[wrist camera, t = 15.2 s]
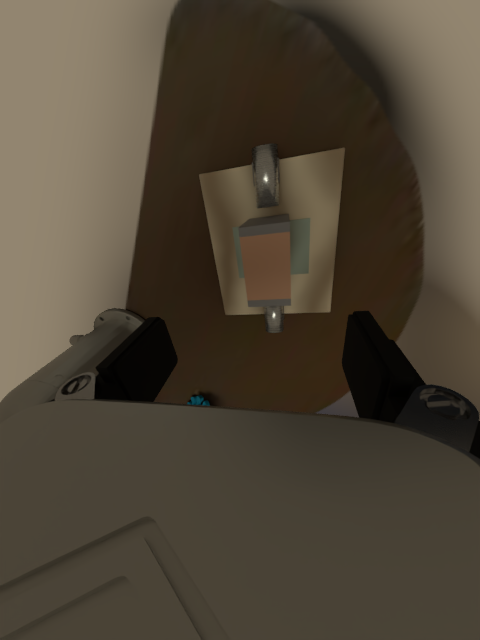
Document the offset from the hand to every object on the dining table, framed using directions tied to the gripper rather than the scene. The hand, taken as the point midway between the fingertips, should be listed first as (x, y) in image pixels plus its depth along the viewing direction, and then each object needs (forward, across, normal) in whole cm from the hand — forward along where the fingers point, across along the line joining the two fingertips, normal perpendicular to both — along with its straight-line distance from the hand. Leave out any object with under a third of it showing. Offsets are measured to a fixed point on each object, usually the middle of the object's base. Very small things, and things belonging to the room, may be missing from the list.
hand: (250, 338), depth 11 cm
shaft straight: (+18, 0, -8) cm, 20 cm away
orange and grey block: (+18, 0, 0) cm, 18 cm away
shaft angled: (+18, 0, +7) cm, 20 cm away
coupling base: (+20, 0, 0) cm, 20 cm away
